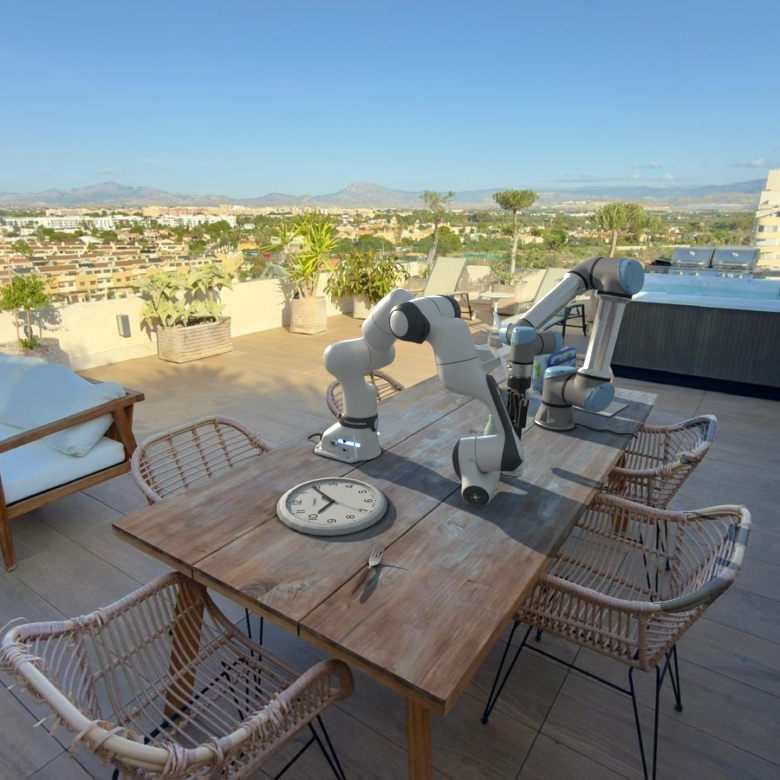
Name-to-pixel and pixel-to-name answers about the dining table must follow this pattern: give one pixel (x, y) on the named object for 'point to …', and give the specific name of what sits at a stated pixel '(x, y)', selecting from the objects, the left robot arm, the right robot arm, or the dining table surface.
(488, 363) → the white plastic object
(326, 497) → the wall clock
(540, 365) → the lunch box
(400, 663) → the dining table surface
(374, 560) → the fork
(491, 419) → the bottle
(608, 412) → the invitation card
